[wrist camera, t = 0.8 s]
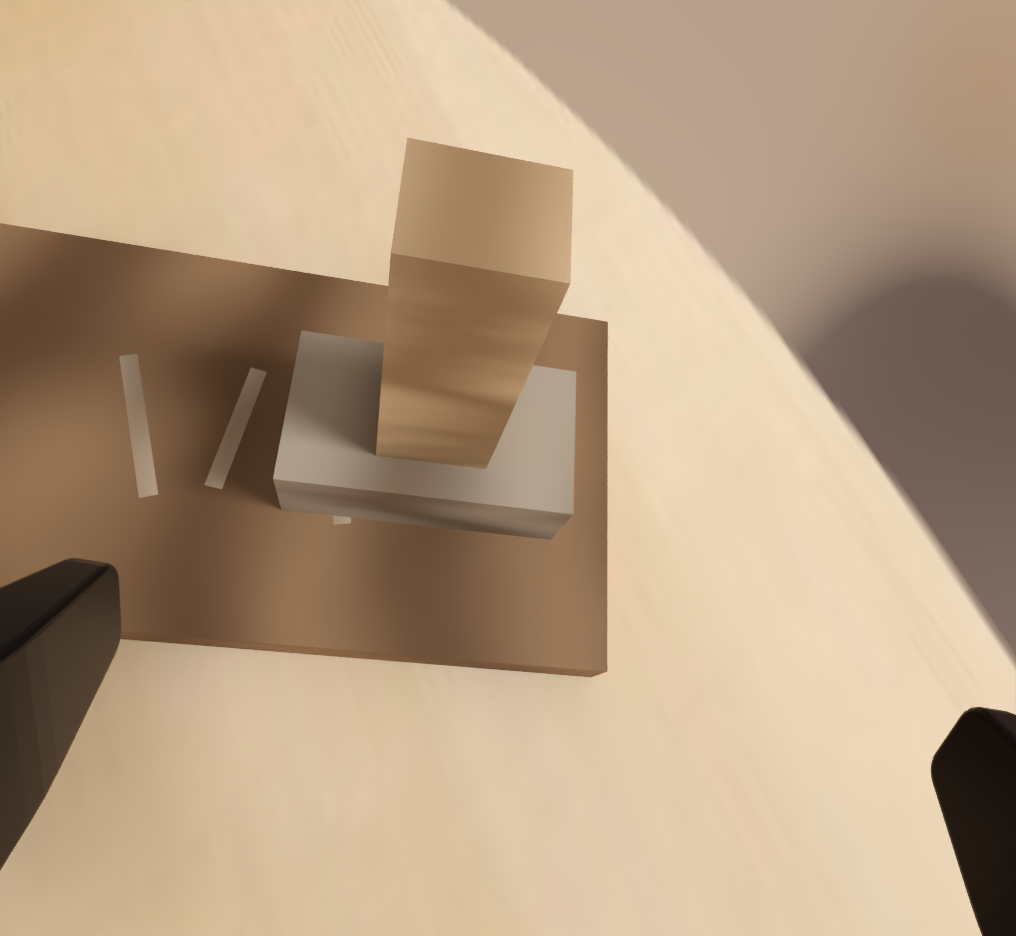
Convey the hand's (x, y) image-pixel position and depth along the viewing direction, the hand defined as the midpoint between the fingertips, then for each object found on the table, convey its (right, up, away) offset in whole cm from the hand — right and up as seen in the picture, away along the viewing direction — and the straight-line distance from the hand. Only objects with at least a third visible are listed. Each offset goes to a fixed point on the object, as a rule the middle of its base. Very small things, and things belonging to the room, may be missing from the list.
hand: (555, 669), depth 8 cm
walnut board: (-8, +3, +15) cm, 18 cm away
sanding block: (-3, +2, +15) cm, 15 cm away
